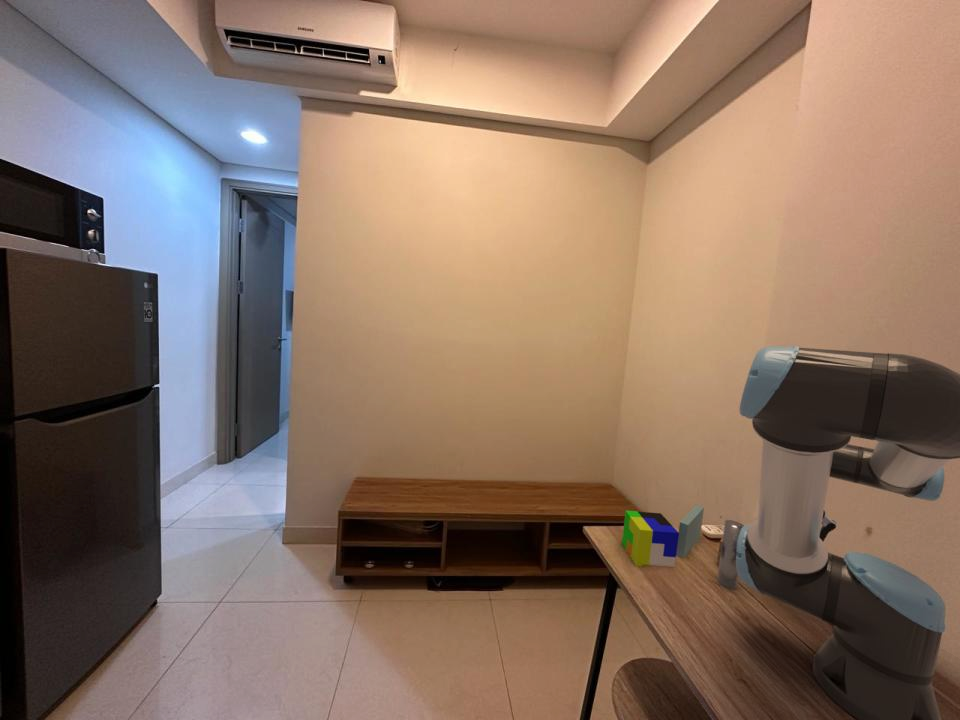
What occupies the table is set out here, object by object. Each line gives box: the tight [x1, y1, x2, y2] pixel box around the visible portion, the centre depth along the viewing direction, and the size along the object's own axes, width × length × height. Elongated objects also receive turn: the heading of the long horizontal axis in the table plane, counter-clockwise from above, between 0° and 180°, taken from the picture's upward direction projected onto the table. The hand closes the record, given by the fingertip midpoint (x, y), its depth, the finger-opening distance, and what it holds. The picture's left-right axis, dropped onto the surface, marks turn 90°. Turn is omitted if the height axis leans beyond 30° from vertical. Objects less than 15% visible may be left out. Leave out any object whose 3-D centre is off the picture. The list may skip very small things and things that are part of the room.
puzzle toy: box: [621, 510, 679, 568], centre depth 100 cm, size 10×10×10 cm
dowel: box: [716, 519, 745, 591], centre depth 90 cm, size 4×4×16 cm
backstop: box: [676, 504, 705, 559], centre depth 100 cm, size 16×19×10 cm
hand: (790, 576), depth 90 cm, fingers closed
